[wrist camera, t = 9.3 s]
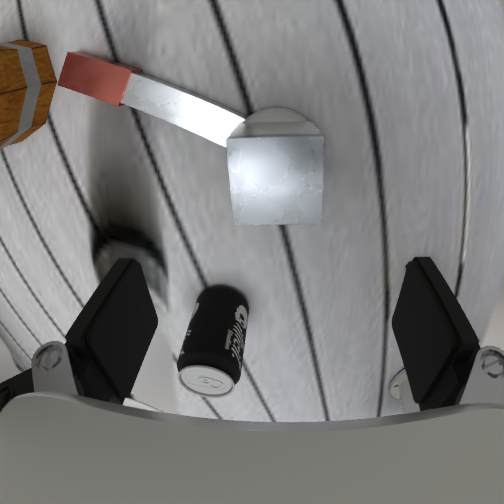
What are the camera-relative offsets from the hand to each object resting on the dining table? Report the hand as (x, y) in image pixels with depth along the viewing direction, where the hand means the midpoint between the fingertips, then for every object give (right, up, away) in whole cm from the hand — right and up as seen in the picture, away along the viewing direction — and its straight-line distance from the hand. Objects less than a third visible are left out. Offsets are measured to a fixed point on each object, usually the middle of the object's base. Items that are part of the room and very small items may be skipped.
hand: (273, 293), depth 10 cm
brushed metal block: (+1, +9, +15) cm, 18 cm away
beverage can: (-4, -5, +28) cm, 29 cm away
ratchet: (-7, +15, +15) cm, 22 cm away
